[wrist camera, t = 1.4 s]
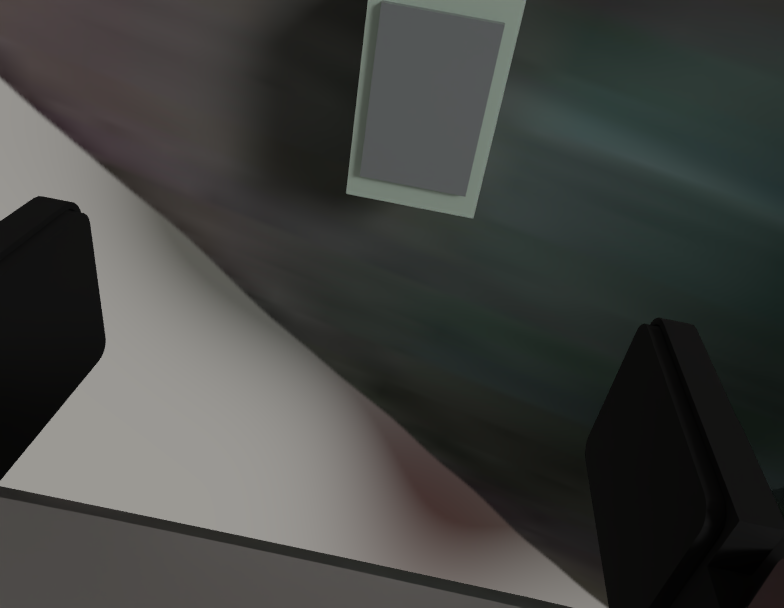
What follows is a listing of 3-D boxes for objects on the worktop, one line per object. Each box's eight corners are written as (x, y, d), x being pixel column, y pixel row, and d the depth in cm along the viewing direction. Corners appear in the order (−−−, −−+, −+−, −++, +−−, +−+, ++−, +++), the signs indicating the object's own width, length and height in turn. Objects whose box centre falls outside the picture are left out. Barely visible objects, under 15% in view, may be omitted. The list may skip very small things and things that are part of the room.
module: (521, -33, 26) (528, -7, 20) (478, 154, 30) (472, 223, 24) (400, -56, 26) (370, -36, 20) (375, 134, 30) (344, 197, 24)
